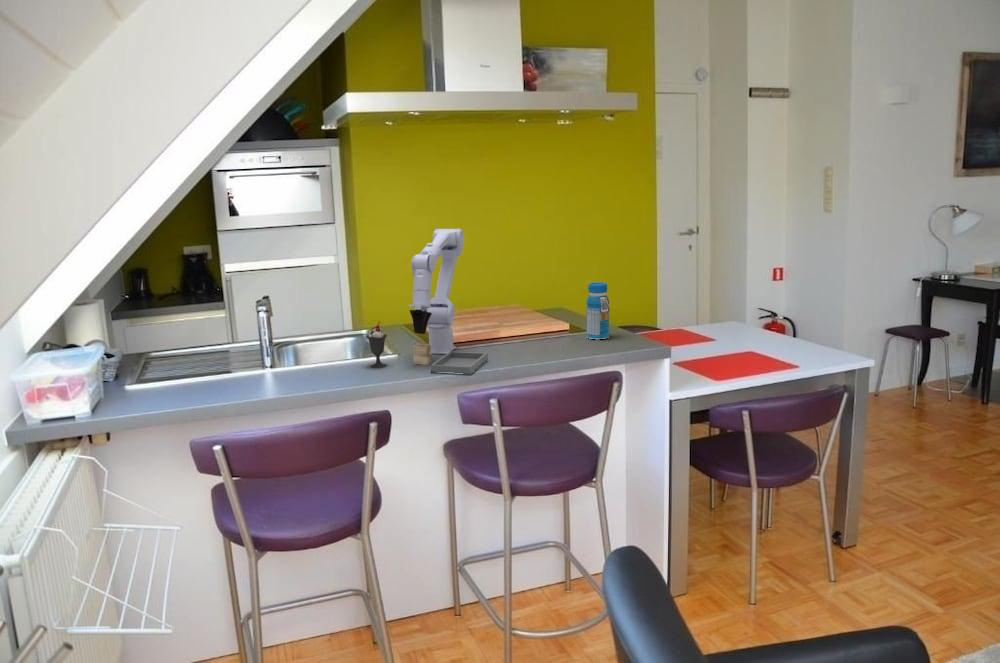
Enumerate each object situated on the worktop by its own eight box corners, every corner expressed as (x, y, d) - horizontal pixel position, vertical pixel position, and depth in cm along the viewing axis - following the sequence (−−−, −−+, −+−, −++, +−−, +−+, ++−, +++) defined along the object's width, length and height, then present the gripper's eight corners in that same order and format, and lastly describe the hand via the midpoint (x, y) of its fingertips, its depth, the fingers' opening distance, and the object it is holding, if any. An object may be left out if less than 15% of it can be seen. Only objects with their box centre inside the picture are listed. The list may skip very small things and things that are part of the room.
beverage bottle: (585, 340, 280) (585, 285, 276) (586, 335, 288) (586, 281, 284) (609, 340, 279) (609, 285, 275) (609, 335, 287) (609, 281, 283)
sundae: (385, 368, 250) (382, 322, 247) (365, 368, 251) (362, 322, 248) (391, 363, 256) (389, 318, 253) (372, 363, 257) (369, 318, 254)
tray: (450, 358, 260) (450, 351, 260) (487, 360, 257) (487, 353, 256) (430, 373, 243) (430, 365, 243) (470, 375, 240) (470, 367, 239)
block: (419, 361, 258) (418, 343, 257) (431, 361, 257) (431, 344, 256) (413, 364, 254) (413, 346, 253) (426, 365, 253) (426, 347, 252)
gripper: (413, 292, 260) (411, 333, 260) (406, 288, 246) (403, 332, 245) (434, 293, 260) (432, 334, 259) (428, 289, 245) (426, 333, 245)
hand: (419, 333), depth 252 cm, fingers open, 7 cm apart
